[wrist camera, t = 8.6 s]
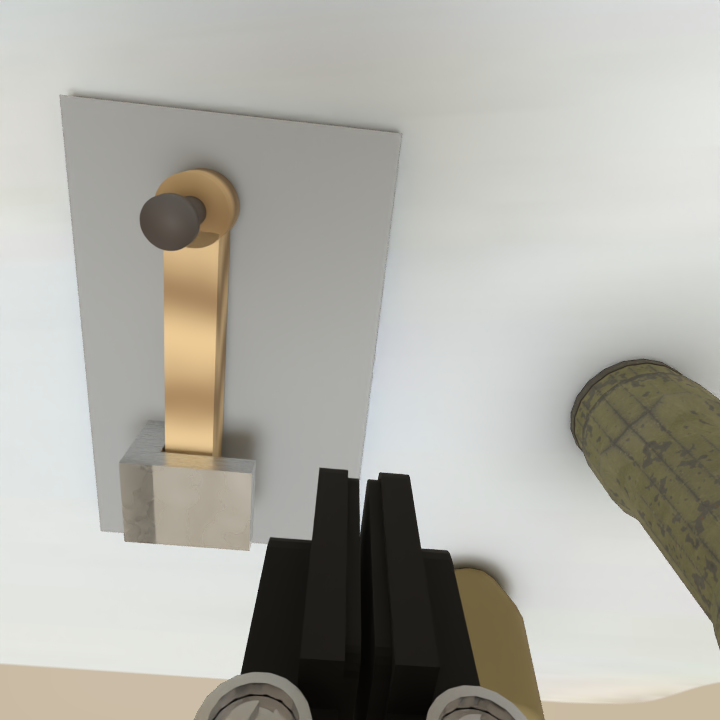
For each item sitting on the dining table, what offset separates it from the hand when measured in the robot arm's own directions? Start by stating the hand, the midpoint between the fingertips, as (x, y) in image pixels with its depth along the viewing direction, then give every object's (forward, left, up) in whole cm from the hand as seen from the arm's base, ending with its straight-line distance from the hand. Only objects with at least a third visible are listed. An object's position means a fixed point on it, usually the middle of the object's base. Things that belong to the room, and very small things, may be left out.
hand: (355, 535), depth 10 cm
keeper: (+16, -9, -26) cm, 32 cm away
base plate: (+8, -7, -27) cm, 29 cm away
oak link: (+7, -9, -25) cm, 28 cm away
